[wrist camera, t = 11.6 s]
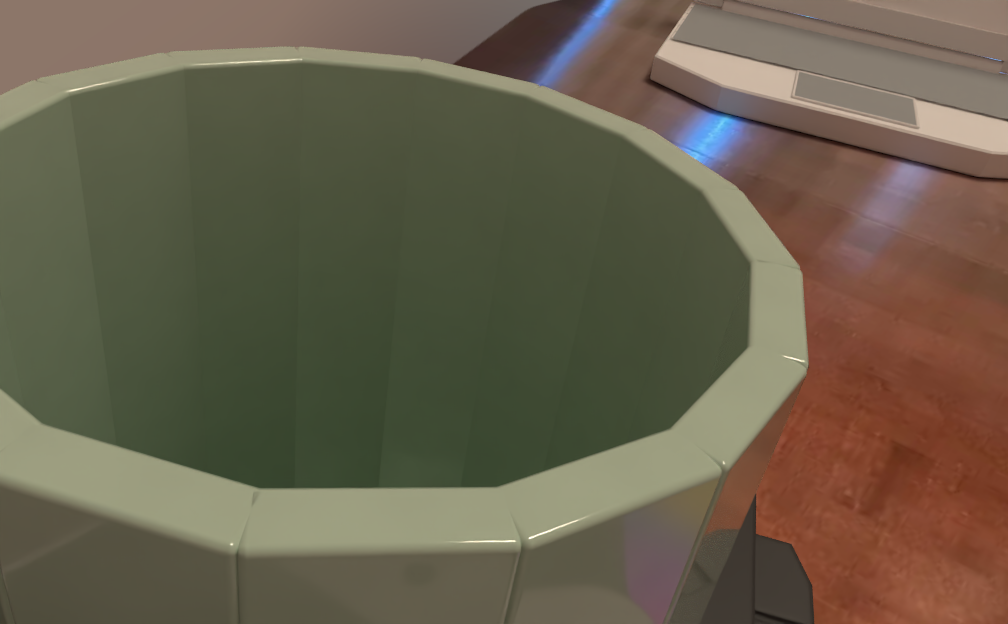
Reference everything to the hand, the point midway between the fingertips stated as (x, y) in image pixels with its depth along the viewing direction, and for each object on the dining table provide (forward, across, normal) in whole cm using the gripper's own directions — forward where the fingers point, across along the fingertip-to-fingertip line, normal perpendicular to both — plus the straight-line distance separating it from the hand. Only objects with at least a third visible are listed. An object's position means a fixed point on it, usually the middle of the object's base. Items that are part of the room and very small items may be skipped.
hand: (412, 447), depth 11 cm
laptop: (+76, -17, +18) cm, 80 cm away
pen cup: (-2, 0, +6) cm, 7 cm away
